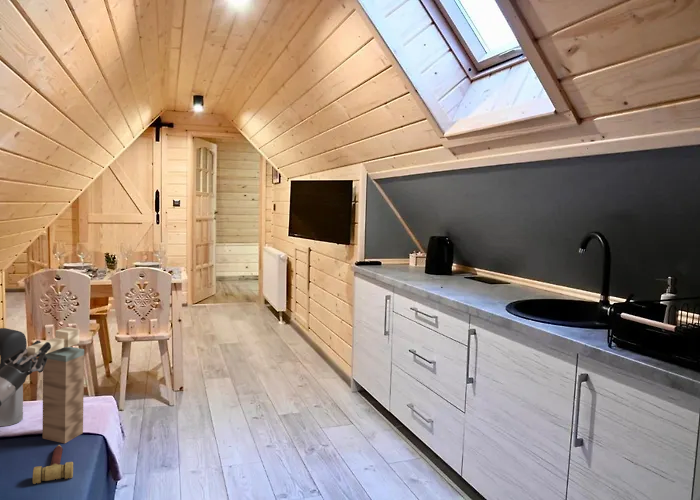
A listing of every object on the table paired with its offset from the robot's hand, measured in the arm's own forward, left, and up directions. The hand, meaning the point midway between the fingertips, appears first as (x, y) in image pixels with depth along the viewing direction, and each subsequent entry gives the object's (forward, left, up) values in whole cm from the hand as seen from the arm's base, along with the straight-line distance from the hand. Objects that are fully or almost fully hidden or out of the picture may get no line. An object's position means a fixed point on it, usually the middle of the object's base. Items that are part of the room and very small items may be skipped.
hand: (44, 343), depth 163 cm
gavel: (+8, -10, -35) cm, 38 cm away
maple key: (+1, +3, -3) cm, 5 cm away
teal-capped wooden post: (+3, +8, -35) cm, 36 cm away
